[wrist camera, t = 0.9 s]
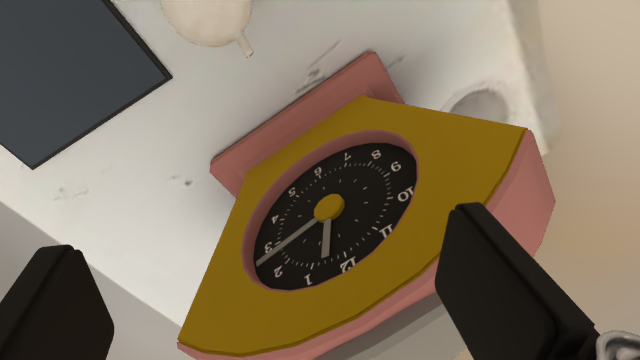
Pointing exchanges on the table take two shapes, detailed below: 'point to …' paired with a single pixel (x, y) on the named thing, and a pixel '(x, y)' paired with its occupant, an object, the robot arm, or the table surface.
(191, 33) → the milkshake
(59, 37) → the mouse pad
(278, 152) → the clock
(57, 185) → the table surface
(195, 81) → the table surface
